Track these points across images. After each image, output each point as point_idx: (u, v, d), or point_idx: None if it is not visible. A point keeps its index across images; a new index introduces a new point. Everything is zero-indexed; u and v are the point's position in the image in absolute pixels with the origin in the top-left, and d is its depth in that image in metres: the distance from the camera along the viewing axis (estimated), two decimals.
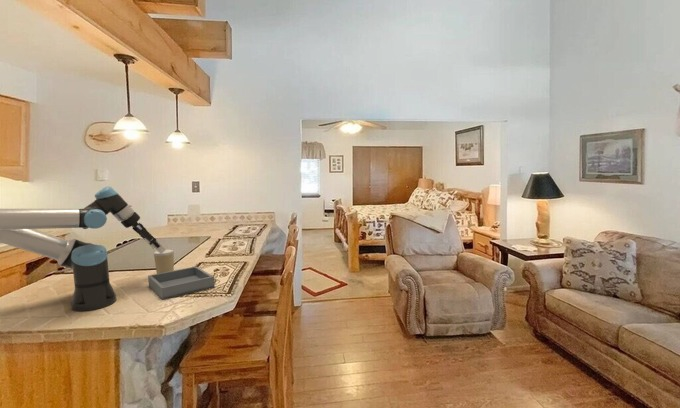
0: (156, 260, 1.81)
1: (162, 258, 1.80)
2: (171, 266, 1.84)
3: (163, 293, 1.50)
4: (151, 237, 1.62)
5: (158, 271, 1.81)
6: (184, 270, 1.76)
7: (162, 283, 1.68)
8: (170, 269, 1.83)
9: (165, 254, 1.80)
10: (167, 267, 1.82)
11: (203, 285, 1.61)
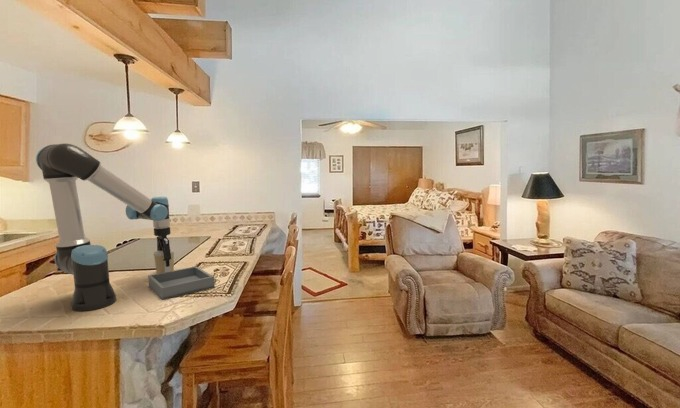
0: (156, 260, 1.81)
1: (162, 258, 1.80)
2: (171, 266, 1.84)
3: (163, 293, 1.50)
4: (169, 255, 1.79)
5: (158, 271, 1.81)
6: (184, 270, 1.76)
7: (162, 283, 1.68)
8: None
9: None
10: None
11: (203, 285, 1.61)
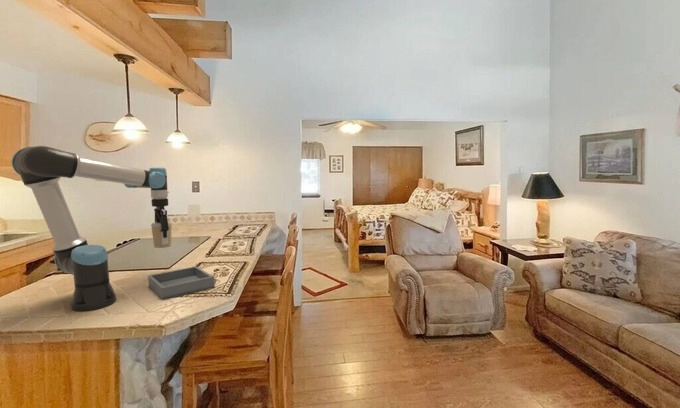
0: (153, 231, 1.79)
1: (159, 229, 1.78)
2: (168, 238, 1.82)
3: (163, 293, 1.50)
4: (166, 225, 1.77)
5: (155, 242, 1.79)
6: (184, 270, 1.76)
7: (162, 283, 1.68)
8: None
9: None
10: None
11: (203, 285, 1.61)
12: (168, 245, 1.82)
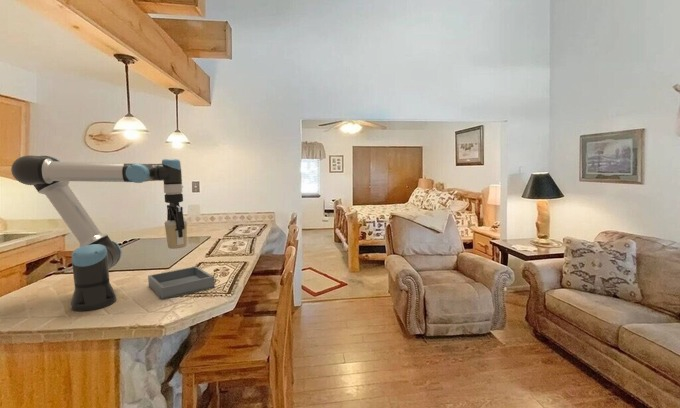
0: (167, 230, 1.60)
1: (174, 227, 1.60)
2: (184, 237, 1.64)
3: (163, 293, 1.50)
4: (182, 224, 1.58)
5: (170, 243, 1.61)
6: (184, 270, 1.76)
7: (162, 283, 1.68)
8: None
9: None
10: None
11: (203, 285, 1.61)
12: (184, 245, 1.64)
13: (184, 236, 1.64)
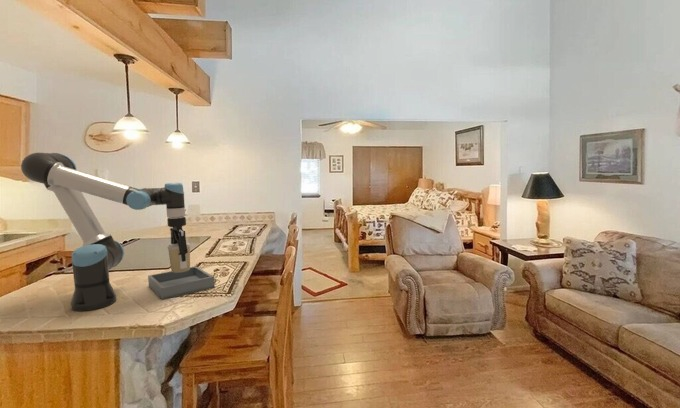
0: (171, 254, 1.60)
1: (177, 251, 1.59)
2: (187, 261, 1.63)
3: (163, 293, 1.50)
4: (185, 248, 1.58)
5: (173, 267, 1.61)
6: None
7: (162, 283, 1.68)
8: None
9: None
10: None
11: (203, 285, 1.61)
12: (187, 269, 1.63)
13: (187, 260, 1.63)
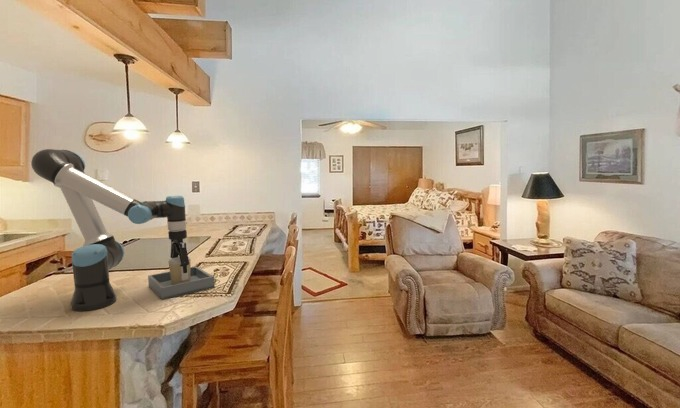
0: (171, 269, 1.61)
1: (178, 266, 1.60)
2: (188, 275, 1.64)
3: (163, 293, 1.50)
4: (186, 260, 1.58)
5: (173, 281, 1.62)
6: None
7: (162, 283, 1.68)
8: (187, 279, 1.64)
9: None
10: None
11: (203, 285, 1.61)
12: None
13: (188, 274, 1.64)
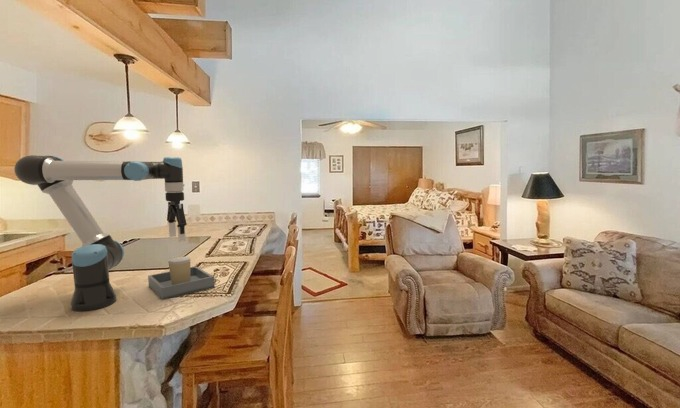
0: (171, 269, 1.61)
1: (177, 266, 1.60)
2: (188, 275, 1.64)
3: (163, 293, 1.50)
4: (183, 220, 1.55)
5: (173, 281, 1.62)
6: None
7: (162, 283, 1.68)
8: (187, 279, 1.64)
9: (181, 262, 1.61)
10: (183, 277, 1.62)
11: (203, 285, 1.61)
12: None
13: (188, 274, 1.64)
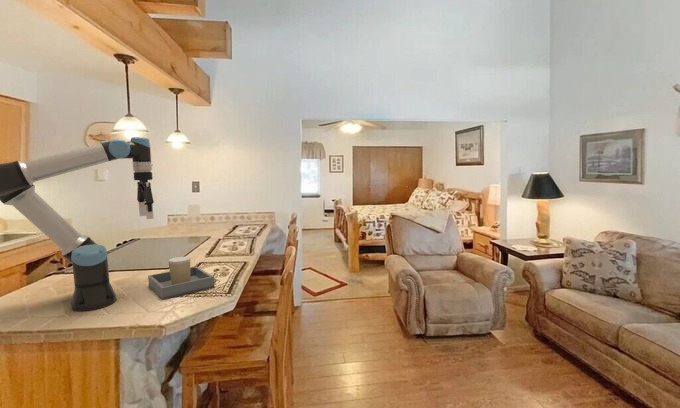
0: (171, 269, 1.61)
1: (178, 266, 1.60)
2: (188, 275, 1.64)
3: (163, 293, 1.50)
4: (151, 198, 1.60)
5: (173, 281, 1.62)
6: None
7: (162, 283, 1.68)
8: (187, 279, 1.64)
9: (181, 262, 1.61)
10: (183, 277, 1.62)
11: (203, 285, 1.61)
12: None
13: (188, 274, 1.64)
